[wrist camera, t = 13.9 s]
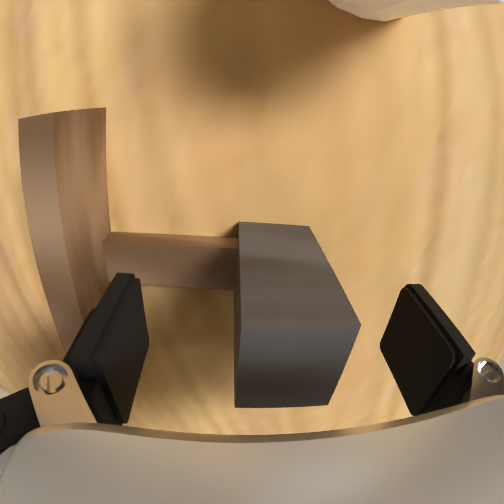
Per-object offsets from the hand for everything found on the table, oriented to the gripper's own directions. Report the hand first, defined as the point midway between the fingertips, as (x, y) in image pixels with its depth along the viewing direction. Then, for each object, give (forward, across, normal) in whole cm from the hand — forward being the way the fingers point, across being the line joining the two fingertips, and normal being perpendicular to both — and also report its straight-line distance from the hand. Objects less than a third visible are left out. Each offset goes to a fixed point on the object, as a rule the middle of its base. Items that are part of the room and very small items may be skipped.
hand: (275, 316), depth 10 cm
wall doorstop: (+4, +3, 0) cm, 5 cm away
